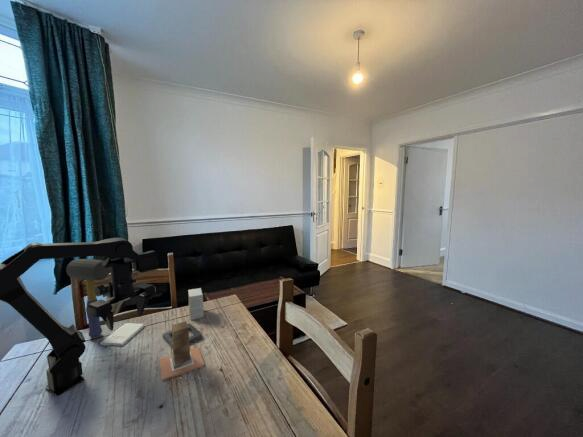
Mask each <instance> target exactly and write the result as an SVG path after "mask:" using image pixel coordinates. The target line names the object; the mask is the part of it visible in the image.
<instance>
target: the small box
mask: <svg viewBox="0 0 583 437" xmlns="http://www.w3.org/2000/svg"><path fill="white" fill-rule="evenodd" d="M187 294H188V295H187V296H188V312H189V313H188V314H189V320H197V319H202V318H204V315H205V314H204V295H203V291H202V287H199V288H192V289H188V290H187Z"/></svg>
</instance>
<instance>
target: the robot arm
mask: <svg viewBox="0 0 583 437" xmlns="http://www.w3.org/2000/svg"><path fill="white" fill-rule="evenodd" d="M83 257H85V258H86V257H102V258H106V259H105V260H103V261H104V262H103V263H102V266H104V267H105V268H107V267H110V278H111V280H110V281H108V285H106V286H105V285H104V284H99V285H97V286H95V294H96V297H101V296H102V298H105V297H108V298H110V300H104V299H99V300H98V299H97V300H98V301H96V302H93V303H90V304H88V306H87V305H86V307H85V310H86V315H87V314H89V315H92V316H95V317H99V318H101V319H102V321H103V322H104V323H105V326H106V327H107V329H108V330H109V331H111V332H113V331H114V325H115V324H114V319H115V316H114V312H113V311H112V310H113V306H116V305H118V304H120V303H123V302H125V301H128V300H130V299H133V298H135V299H136V312H137V316H138V317H140V318H141V317H142V316H143V313H144V311H145V308H146V306H147V305H148V303H149V302H150V299H151V298H152V297H153V295H154V294H156V293H157V292H156V291H157V290H156V286H155V285H154V284H150V283H147V282H142V283H141V284H138V285H135V283H137V279H136V278H134V274H133V271H134V272H137V273H138V274H139V275H141V274H143V273H145V274H146V273H148V272H149V273H150V272H153V271H158V270H159V268H160V261H159V259H158V256H157V252H156V251H155V250H153V249H152V250H149V251H145V252H139V253H138V252H136V251H135V250H134V248H133V244H132V243H131V242H130V241H128V240H127V239H125V238H123V237H112V238H105V239H102V240H99V241H98V240H97V241H89V242H87V241H86V242H85V241H84V242H83V241H82V242H55V243H54V242H53V243H51V242H50V243H49V242H47V243H40V242H33V243H29V244H27V245H26V246H25V247H24V248H22V249H21V250H20V251H18V252H16V253H14V254H13V255H10V256H9V257H8V258H6V259H5V260H3V261H2V262H0V301H1V302H4V303H6V304H8V305H9V306H10V307H12V309H14V310H15V311H16V312H17V313H18V314H19V315H20V316H21V317H23V319H25V321H27V322H28V323H29V324H30V325H31V326H32V327H33V328H34V329H36V330H37V331H38V333H40V334H41V335H42V336H43V337H44V338H46V340H48V342H49V344H50V346H51V348H52V350H51V351H50V352H49V353H48V354H47V355H46V359H47V365H48V366H47V367H48V368H47V369H45V371H46V379H47V385H45V388H44V389H45V390H47V391H49V392H50V393H52V394H53V395H55V396H56V397H57V396H60V395H62V394H63V393H65V392H66V391H68V390H70V389H71V388H73V387H75V386H76V385H78V384H80V383H81V382H84V381H85V377H84V376H83V365H82V364H83V363H82V361H80V358H81V356H83V354H84V353H85V351H86V348H87V347H86V345H85V343H86V341H87V340H86V338H85V336H84V334H83V331H80V330H78V329H77V327H76V325H74V323H72V324H71V325H70V326H69V327H67V326H64V325H63V324H62V323H60V321H59V320H57V319H56V317H55V316H54V315H53V314H52V313H50V311H49V310H48V309H46V307H45V306H44V305H42V304H41V303H40V301H39V300H38V299H36V298H35V296H34V295H33V294H32V293H30V292H29V291H28V290H27V288H26V286H25V284H24V282H23V280H22V279H21V277H22V275H24V273H26V272H27V271H28V270H30V268H31V267H33V266H34V265H35V264H37V262H39V261H40V260H50V259H51V260H52V259H67V258H83ZM134 285H135V286H134Z"/></svg>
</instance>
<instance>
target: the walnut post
mask: <svg viewBox="0 0 583 437" xmlns="http://www.w3.org/2000/svg"><path fill="white" fill-rule="evenodd" d="M188 324H189V323H188V322H187V320H185V321H182V322H177V323H175V324H171V331H172V337H171V338H172V342H173V349H172V355H173V356H172V361H173V366H174V369H176V368H179V367H182V366H185V365H188V364H190V363H192V359H191V356H190V349H191V347H190V344H191V343H190V344H189V337H190V331H189V327H188Z"/></svg>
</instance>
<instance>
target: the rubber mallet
mask: <svg viewBox="0 0 583 437" xmlns="http://www.w3.org/2000/svg"><path fill="white" fill-rule="evenodd" d="M104 261H105V260H99V259H95V258H93V259H92V258H77V259H73V260H71V261H70V262H69V263H68V264H67V265H66V270H65V271H66V274H67V276H68V277H70V278H72V279H77V280H83V281H85V284H86V294H87V295H86V296H87V297H86V298H87V301H86V307H87V306H88V304H90V303H93V302H96V301H98V299H97V296H96V294H95V287H96V283H95V281H103V280H105V279H106V278H107V277H109V275H110V274H111V270H110V267H107V268H105V267H104V266H102V263H103V262H104ZM86 318H87V321H88V328H89V330H88V337H90V338H91V339H97V338H100V337H101V335H102V333H103V330H102V329H103V328H102V326H101V320H100V318H101V317H95V316H92V315H89V314H87V313H86Z"/></svg>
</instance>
